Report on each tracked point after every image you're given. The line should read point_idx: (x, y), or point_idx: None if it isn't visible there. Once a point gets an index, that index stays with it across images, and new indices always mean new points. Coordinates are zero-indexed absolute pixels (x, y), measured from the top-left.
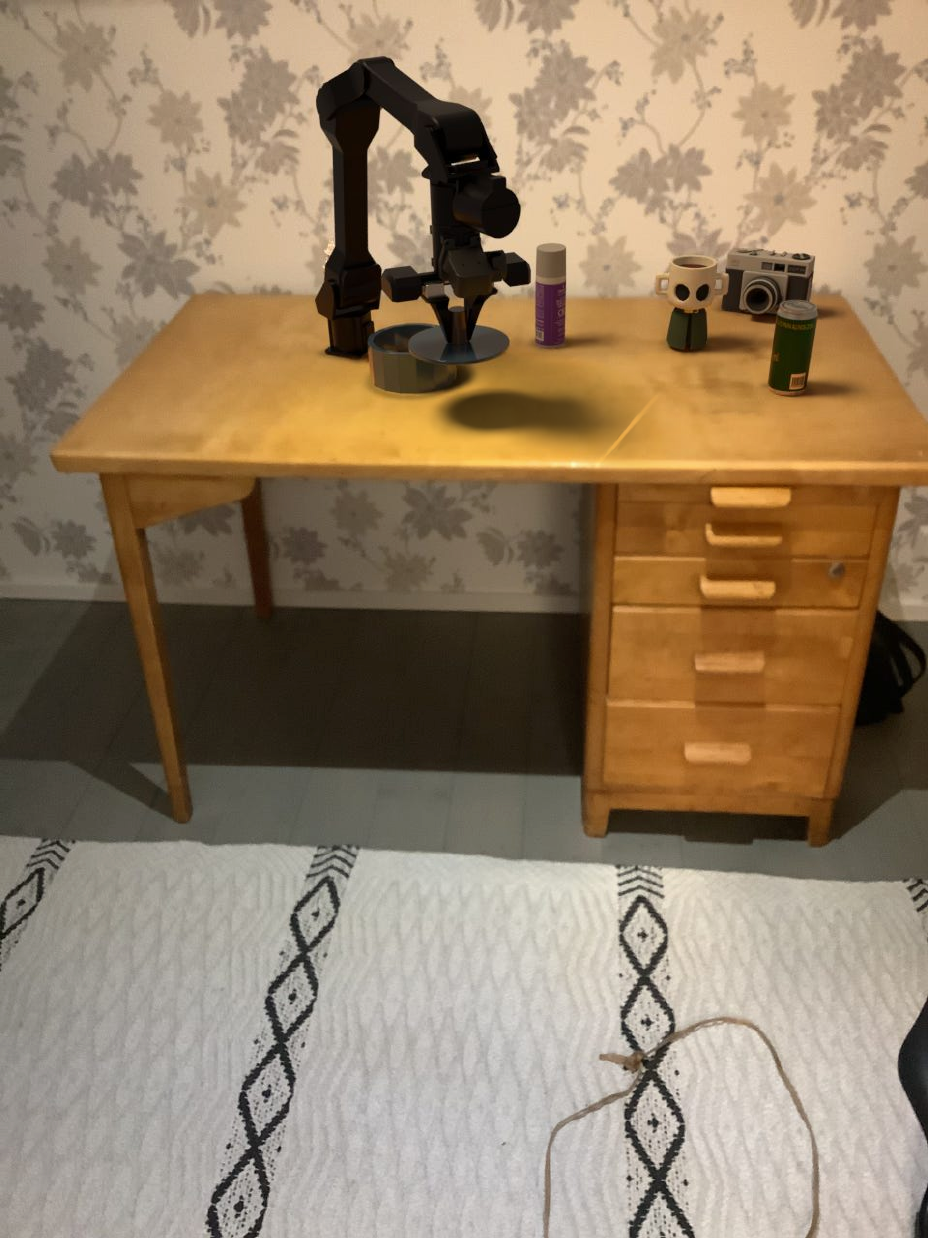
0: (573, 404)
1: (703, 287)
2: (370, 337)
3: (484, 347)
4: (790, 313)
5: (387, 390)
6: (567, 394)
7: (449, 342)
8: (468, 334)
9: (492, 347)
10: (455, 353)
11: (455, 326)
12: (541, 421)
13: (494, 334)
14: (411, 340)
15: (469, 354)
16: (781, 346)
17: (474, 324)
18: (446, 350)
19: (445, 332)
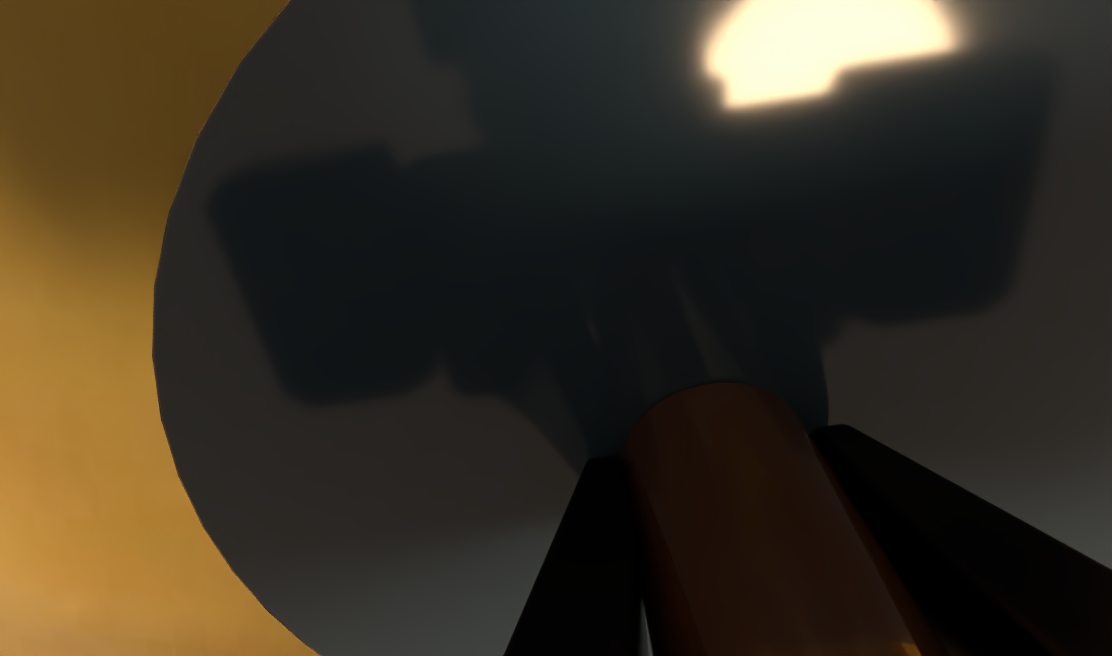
0: (16, 196)
1: None
2: None
3: (464, 257)
4: None
5: None
6: (64, 316)
7: (837, 424)
8: (625, 489)
9: (364, 234)
10: (863, 150)
11: (867, 550)
12: (187, 11)
13: (324, 549)
14: (1099, 560)
15: (706, 57)
16: None
17: (555, 583)
18: (924, 268)
19: (968, 493)
